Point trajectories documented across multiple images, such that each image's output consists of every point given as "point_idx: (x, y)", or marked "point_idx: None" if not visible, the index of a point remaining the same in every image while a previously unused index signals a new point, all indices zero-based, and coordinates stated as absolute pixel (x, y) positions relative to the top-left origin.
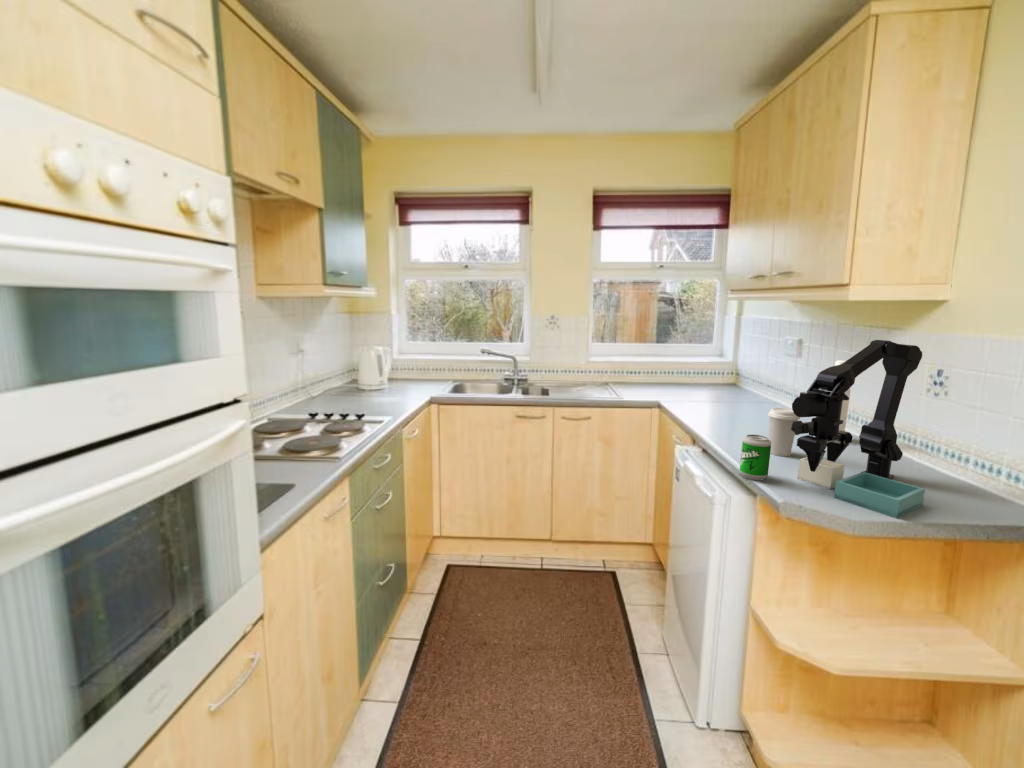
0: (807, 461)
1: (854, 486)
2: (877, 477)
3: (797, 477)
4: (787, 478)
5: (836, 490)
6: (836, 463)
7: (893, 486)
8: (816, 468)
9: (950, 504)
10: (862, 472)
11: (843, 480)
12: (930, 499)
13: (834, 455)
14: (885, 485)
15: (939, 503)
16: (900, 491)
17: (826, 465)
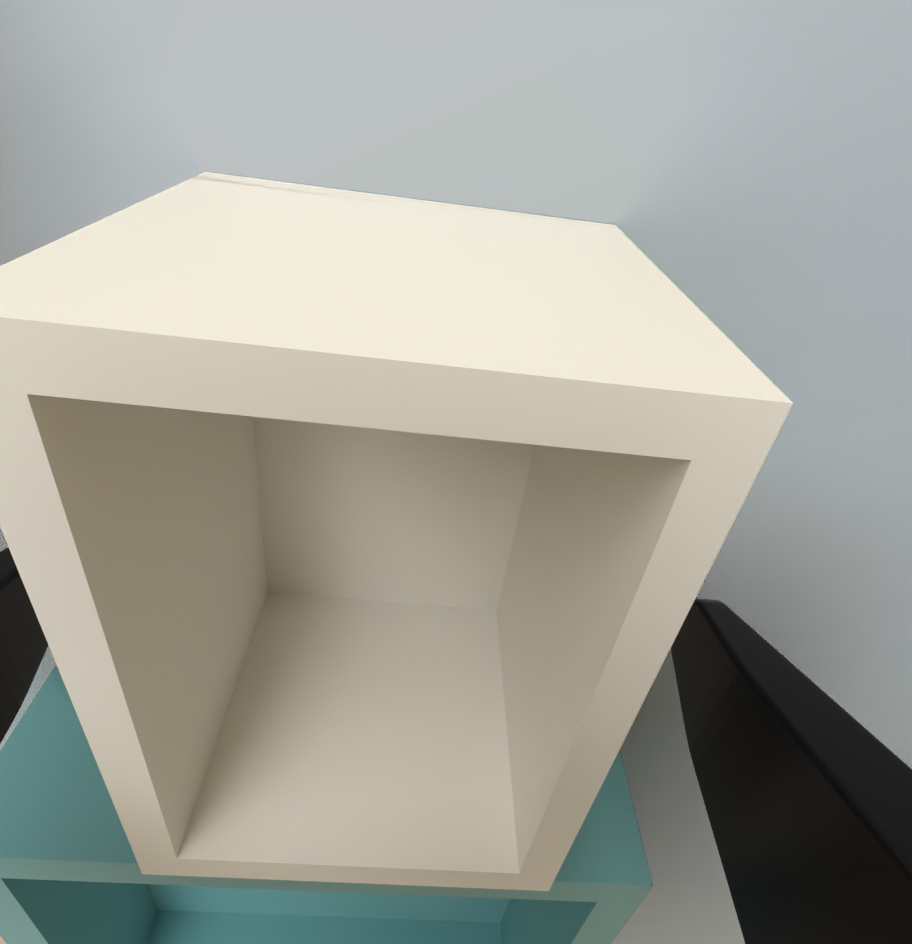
0: (13, 543)
1: (13, 934)
2: (567, 938)
3: (198, 178)
4: (29, 17)
5: (8, 753)
6: (532, 832)
7: (533, 936)
8: (16, 679)
9: (667, 939)
10: (615, 885)
11: (68, 874)
12: (683, 903)
13: (770, 914)
14: (541, 901)
15: (640, 923)
16: (519, 927)
17: (560, 641)
